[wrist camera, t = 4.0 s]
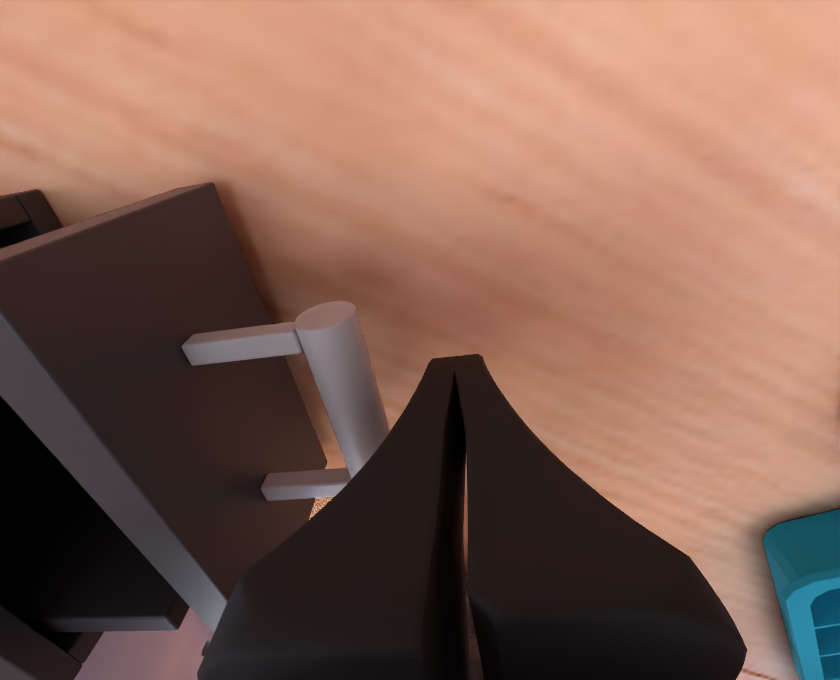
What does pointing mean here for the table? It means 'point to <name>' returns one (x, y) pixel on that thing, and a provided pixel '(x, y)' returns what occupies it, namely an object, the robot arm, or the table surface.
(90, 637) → the cabinet
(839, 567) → the ice cube tray
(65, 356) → the drawer
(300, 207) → the table surface
